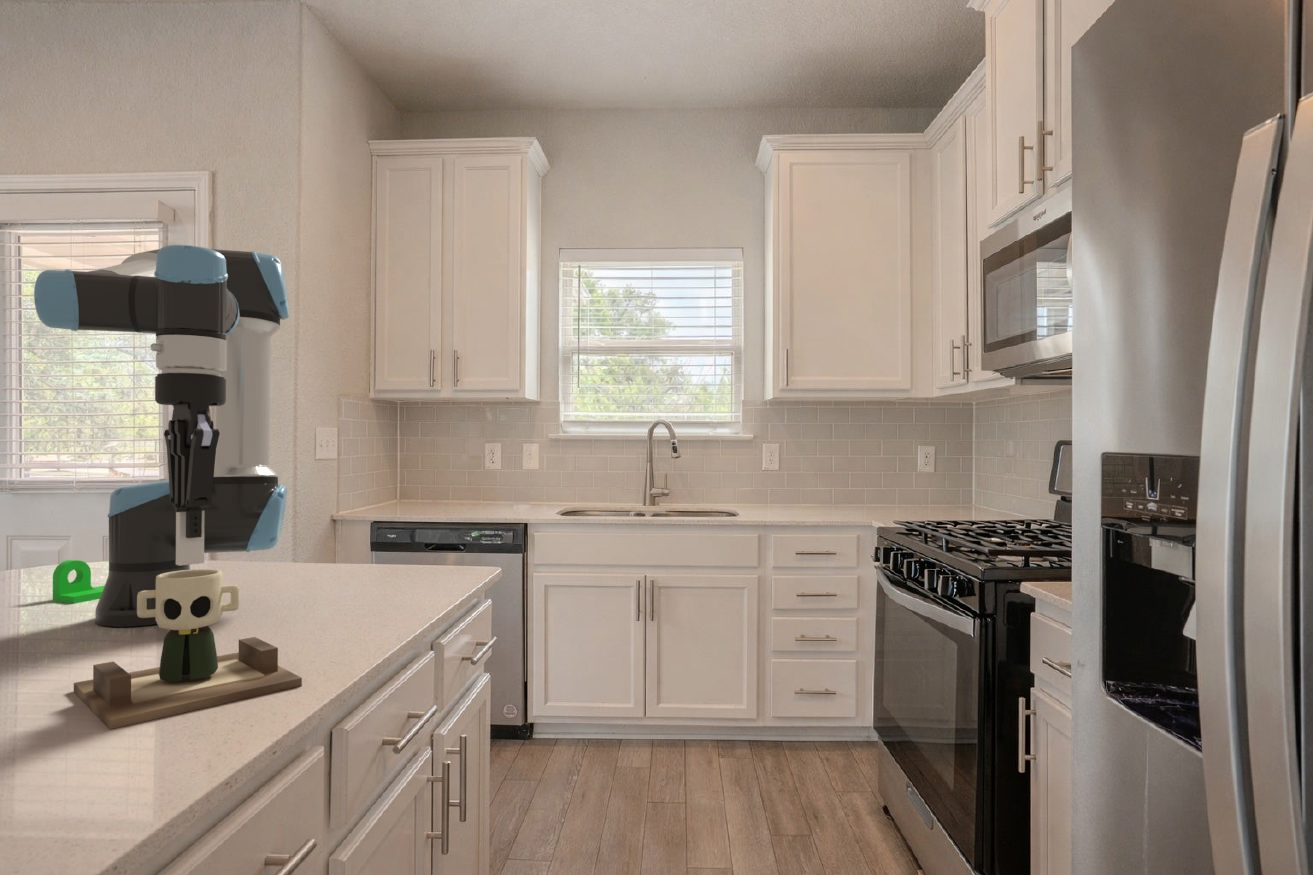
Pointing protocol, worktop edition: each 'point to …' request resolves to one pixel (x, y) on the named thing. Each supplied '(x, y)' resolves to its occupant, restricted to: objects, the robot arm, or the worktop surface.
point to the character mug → (188, 619)
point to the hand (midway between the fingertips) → (189, 563)
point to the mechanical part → (74, 583)
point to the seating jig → (183, 686)
